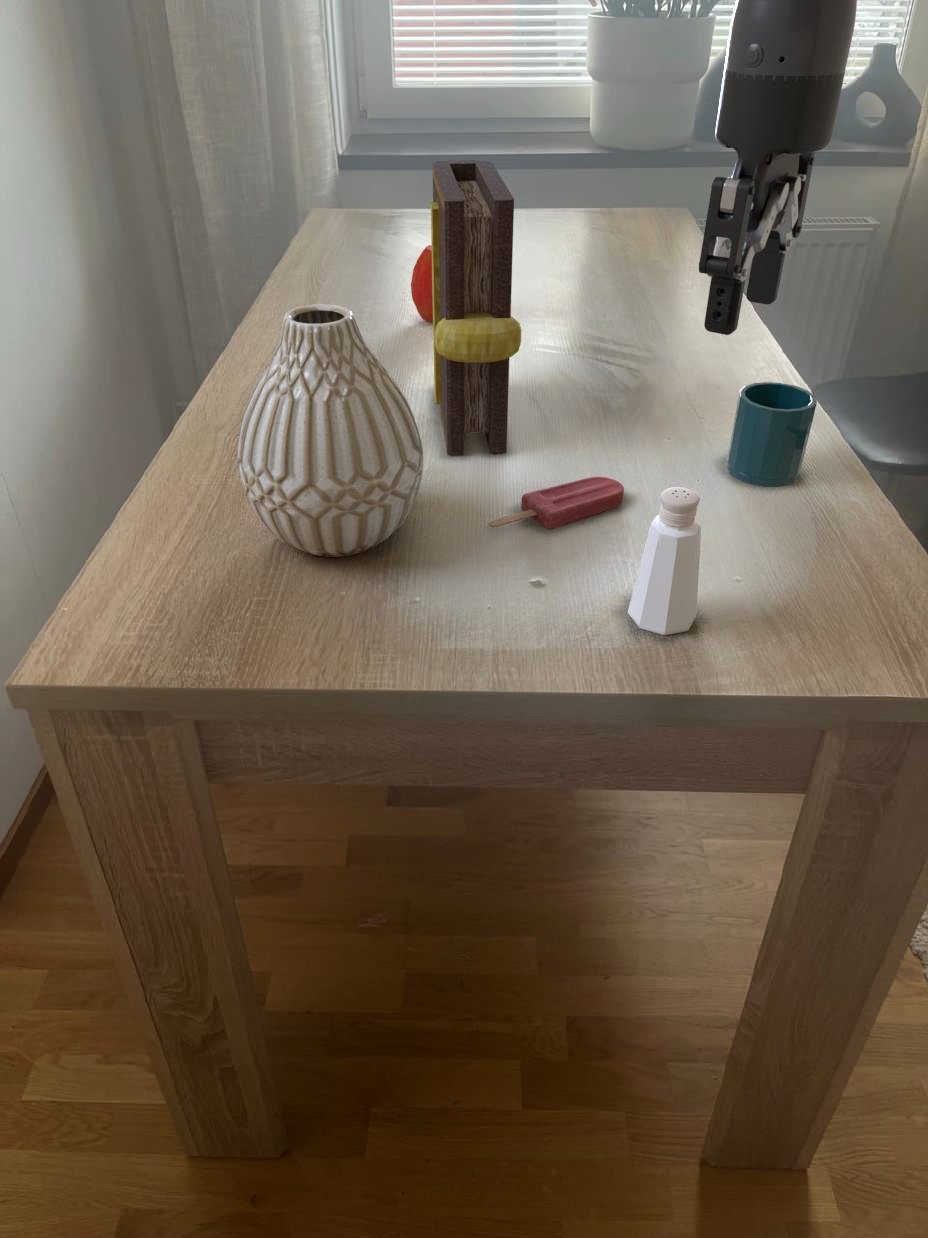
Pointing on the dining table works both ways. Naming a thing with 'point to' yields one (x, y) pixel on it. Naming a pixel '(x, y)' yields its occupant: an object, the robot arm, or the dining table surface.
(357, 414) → the vase
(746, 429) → the cup
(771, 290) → the robot arm
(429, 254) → the apple
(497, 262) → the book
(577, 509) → the popsicle
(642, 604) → the pepper shaker
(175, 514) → the dining table surface
